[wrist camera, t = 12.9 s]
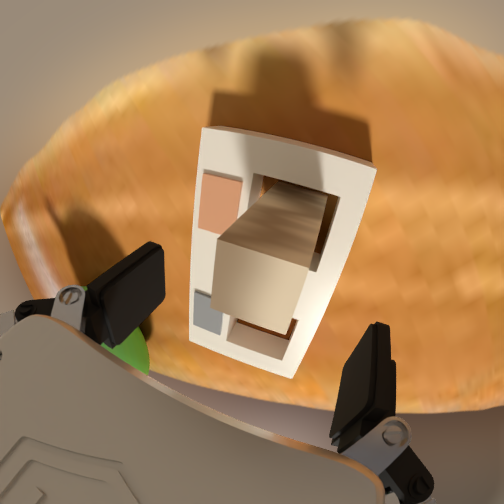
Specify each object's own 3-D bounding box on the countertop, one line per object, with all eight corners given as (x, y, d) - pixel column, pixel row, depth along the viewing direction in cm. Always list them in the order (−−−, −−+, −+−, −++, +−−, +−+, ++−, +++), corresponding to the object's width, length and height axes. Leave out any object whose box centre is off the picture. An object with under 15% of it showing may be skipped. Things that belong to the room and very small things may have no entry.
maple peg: (328, 195, 20) (309, 268, 11) (314, 240, 22) (285, 334, 13) (278, 181, 21) (216, 238, 11) (268, 226, 23) (210, 307, 13)
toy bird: (182, 368, 38) (133, 441, 26) (113, 349, 44) (68, 400, 32) (134, 267, 31) (48, 343, 18) (70, 267, 37) (6, 316, 25)
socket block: (372, 162, 17) (377, 170, 15) (297, 358, 29) (291, 380, 26) (220, 125, 20) (200, 127, 17) (201, 323, 31) (187, 342, 28)
